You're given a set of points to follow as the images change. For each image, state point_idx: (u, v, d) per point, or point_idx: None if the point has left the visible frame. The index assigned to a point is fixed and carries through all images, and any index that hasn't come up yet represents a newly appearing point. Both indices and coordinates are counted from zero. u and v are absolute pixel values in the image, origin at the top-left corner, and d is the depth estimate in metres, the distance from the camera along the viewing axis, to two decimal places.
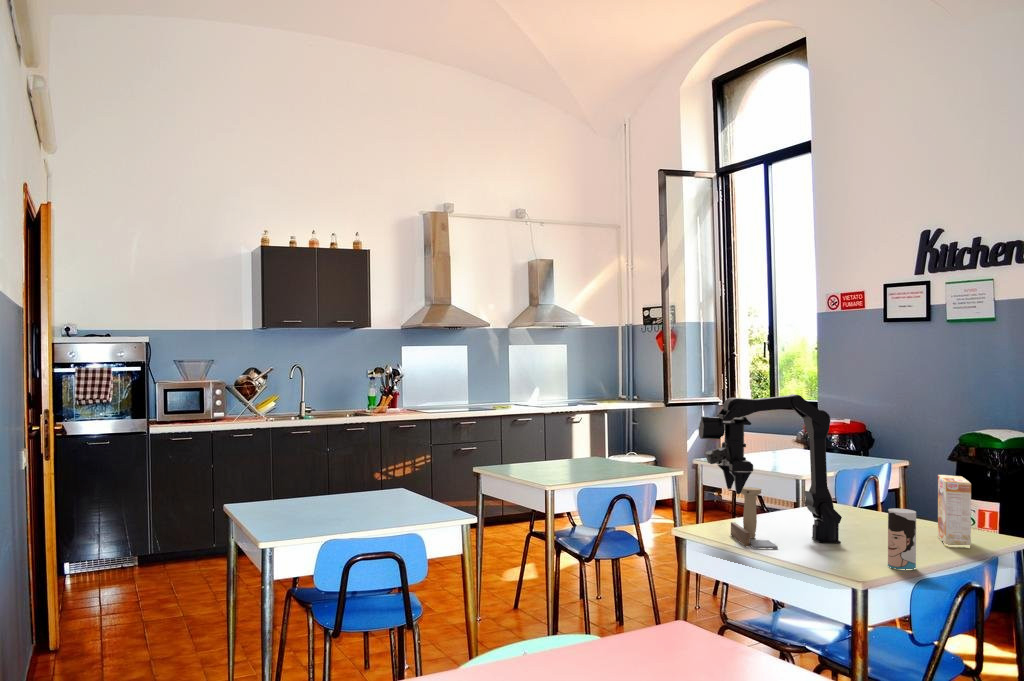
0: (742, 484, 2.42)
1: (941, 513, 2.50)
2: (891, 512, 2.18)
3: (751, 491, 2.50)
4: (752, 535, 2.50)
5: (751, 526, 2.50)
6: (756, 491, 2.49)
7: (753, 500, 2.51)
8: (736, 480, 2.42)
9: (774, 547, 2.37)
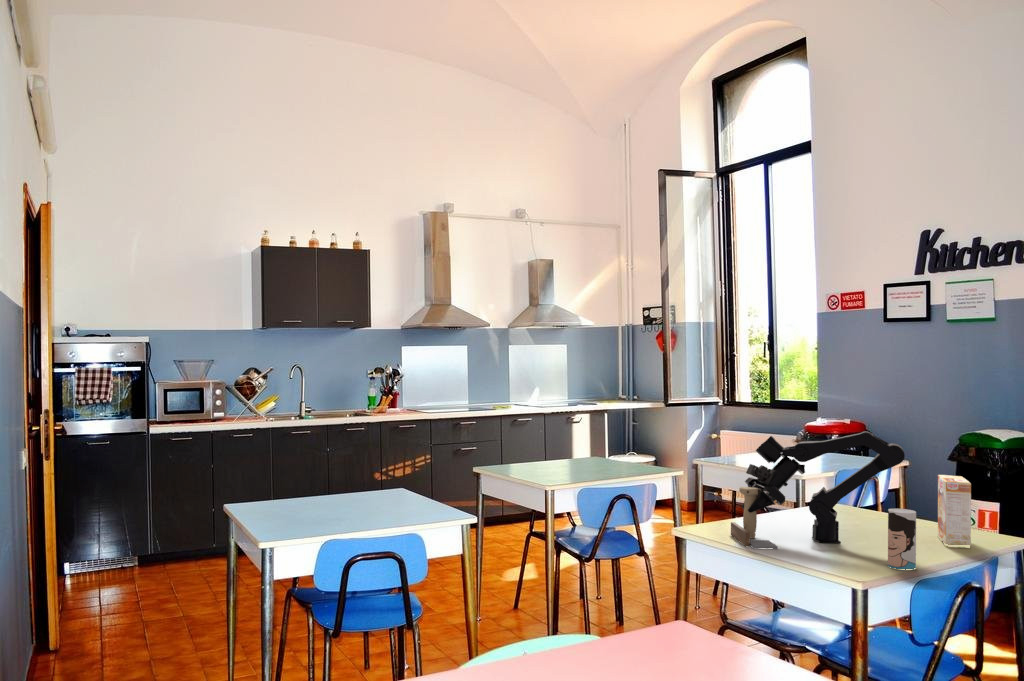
0: (759, 507, 2.49)
1: (941, 513, 2.50)
2: (891, 512, 2.18)
3: (751, 491, 2.50)
4: (752, 535, 2.50)
5: (750, 526, 2.50)
6: (756, 491, 2.49)
7: (753, 500, 2.51)
8: (758, 500, 2.48)
9: (774, 547, 2.37)
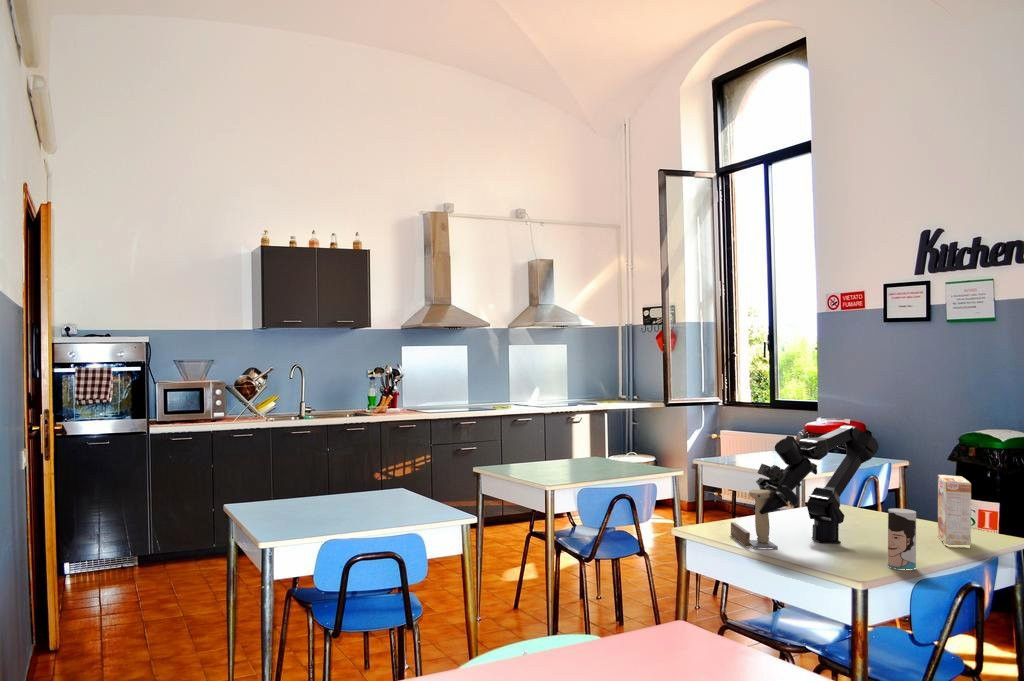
0: (771, 508, 2.38)
1: (941, 513, 2.50)
2: (891, 512, 2.18)
3: (763, 495, 2.39)
4: (766, 539, 2.40)
5: (764, 530, 2.40)
6: (768, 494, 2.38)
7: None
8: (770, 501, 2.37)
9: (774, 547, 2.37)
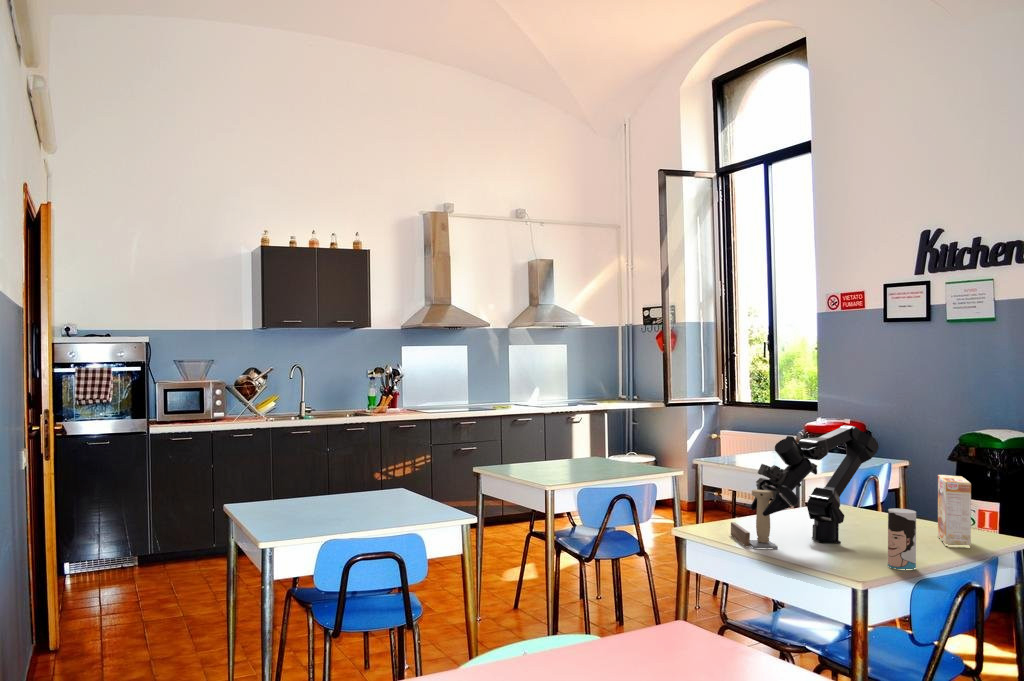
0: (774, 510, 2.35)
1: (941, 513, 2.50)
2: (891, 512, 2.18)
3: (765, 494, 2.40)
4: (766, 540, 2.40)
5: (765, 530, 2.40)
6: (770, 493, 2.40)
7: (767, 503, 2.41)
8: (773, 503, 2.35)
9: (774, 547, 2.37)
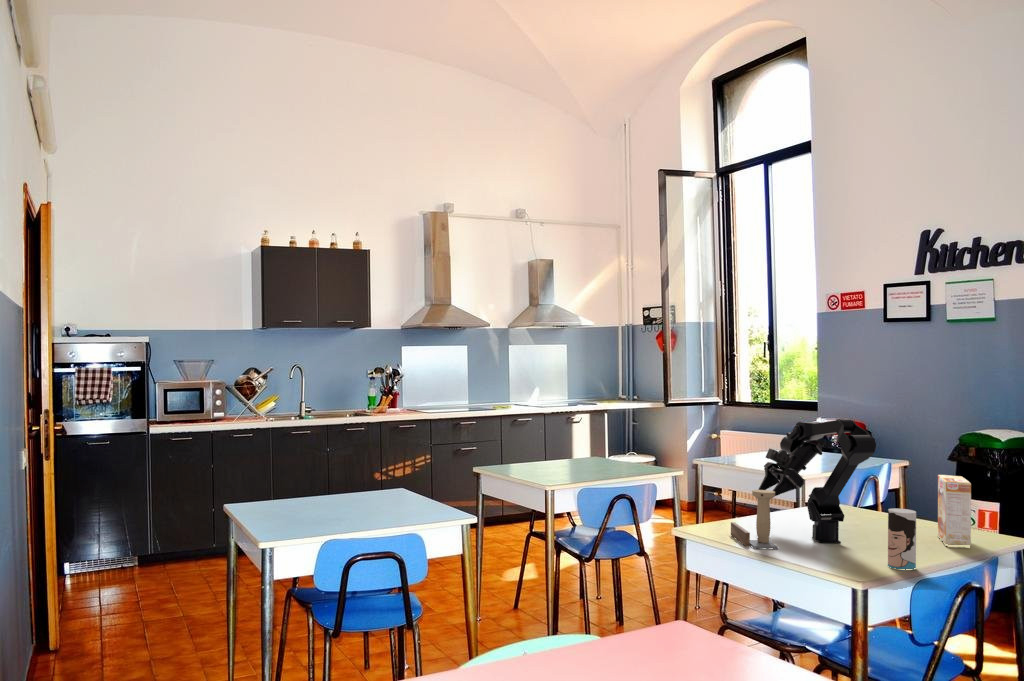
0: (781, 491, 2.53)
1: (941, 513, 2.50)
2: (891, 512, 2.18)
3: (766, 494, 2.39)
4: (766, 540, 2.40)
5: (765, 530, 2.40)
6: (771, 494, 2.39)
7: (768, 503, 2.41)
8: (780, 484, 2.52)
9: (774, 547, 2.37)
